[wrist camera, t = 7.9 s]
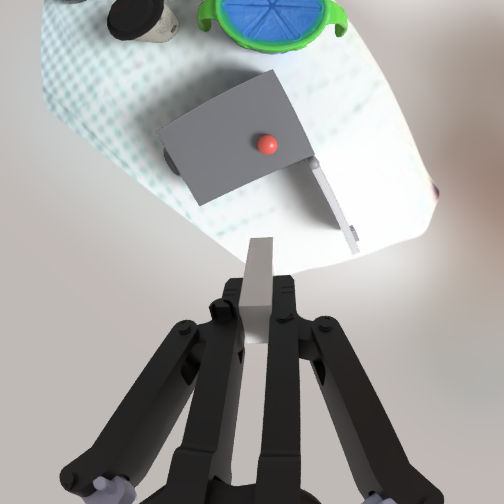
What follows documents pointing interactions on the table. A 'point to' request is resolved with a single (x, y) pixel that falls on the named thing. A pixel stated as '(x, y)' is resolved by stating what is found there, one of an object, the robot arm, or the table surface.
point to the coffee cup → (142, 21)
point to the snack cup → (273, 22)
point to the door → (334, 204)
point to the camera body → (235, 138)
